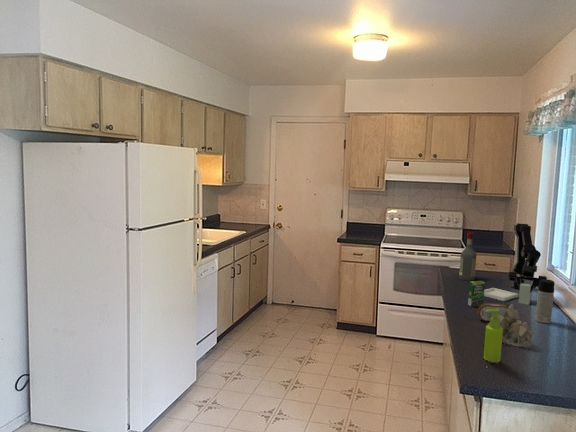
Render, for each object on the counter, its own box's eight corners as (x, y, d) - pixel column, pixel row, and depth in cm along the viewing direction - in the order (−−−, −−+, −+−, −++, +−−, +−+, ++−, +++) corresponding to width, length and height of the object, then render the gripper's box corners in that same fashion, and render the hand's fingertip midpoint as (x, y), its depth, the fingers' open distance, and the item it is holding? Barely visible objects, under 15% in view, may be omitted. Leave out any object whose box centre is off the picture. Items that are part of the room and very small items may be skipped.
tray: (492, 290, 285) (493, 287, 284) (518, 297, 273) (518, 293, 272) (478, 294, 276) (478, 291, 275) (503, 301, 263) (504, 297, 263)
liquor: (474, 278, 314) (478, 232, 311) (473, 281, 306) (477, 234, 303) (459, 276, 318) (463, 231, 315) (458, 279, 310) (462, 233, 306)
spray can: (549, 320, 234) (553, 279, 232) (552, 324, 228) (556, 283, 225) (534, 318, 236) (538, 278, 234) (536, 322, 230) (540, 281, 227)
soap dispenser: (477, 357, 185) (482, 307, 183) (495, 357, 186) (499, 307, 184) (485, 364, 180) (489, 312, 177) (503, 364, 180) (507, 312, 178)
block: (519, 300, 266) (521, 283, 264) (529, 302, 263) (531, 284, 262) (518, 303, 261) (520, 284, 260) (528, 304, 259) (530, 286, 258)
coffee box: (470, 307, 251) (472, 282, 249) (467, 305, 254) (469, 281, 252) (483, 306, 253) (485, 281, 252) (479, 304, 256) (481, 280, 255)
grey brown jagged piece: (480, 332, 213) (485, 300, 210) (518, 335, 213) (523, 303, 210) (495, 348, 198) (500, 314, 195) (535, 351, 197) (541, 317, 195)
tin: (508, 321, 230) (510, 304, 229) (511, 323, 227) (512, 306, 226) (476, 319, 232) (477, 302, 231) (478, 321, 229) (479, 304, 228)
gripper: (510, 257, 268) (505, 280, 260) (548, 261, 258) (544, 286, 250) (511, 268, 275) (506, 291, 267) (548, 273, 265) (544, 297, 257)
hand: (524, 291), depth 260 cm, fingers closed on block, 5 cm apart
